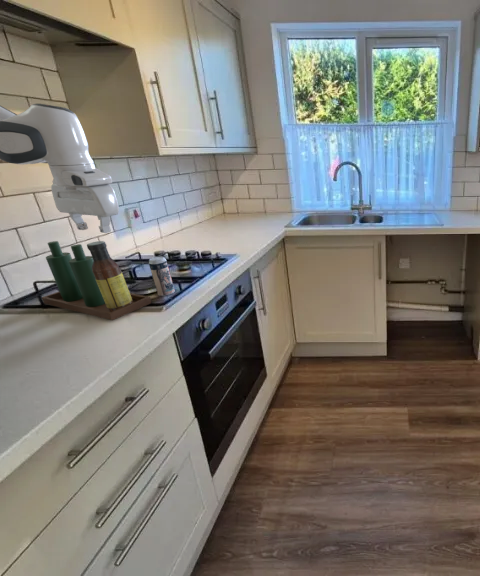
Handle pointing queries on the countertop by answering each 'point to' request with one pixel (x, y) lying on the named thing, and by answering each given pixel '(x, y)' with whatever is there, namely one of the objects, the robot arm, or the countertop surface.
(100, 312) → the tray
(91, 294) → the green bottle
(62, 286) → the green bottle
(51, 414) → the countertop surface
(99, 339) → the countertop surface
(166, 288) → the beer can
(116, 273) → the sauce bottle
